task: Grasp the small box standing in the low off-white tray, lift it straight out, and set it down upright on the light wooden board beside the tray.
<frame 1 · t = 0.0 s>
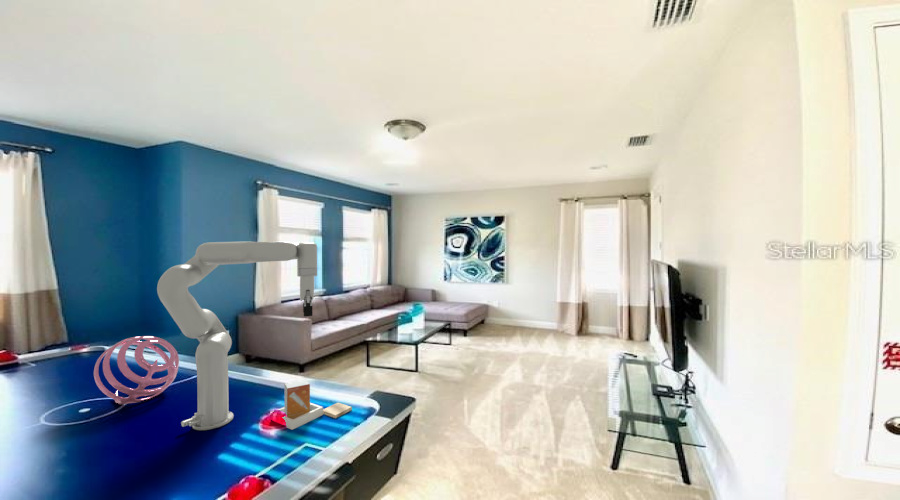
hand: (307, 314, 142), 37 cm above the table, tool pointing down, fingers open, 9 cm apart
spiral basket: (140, 399, 149), on the table
small box: (297, 418, 131), resting in tray
tray: (297, 417, 131), on the table
board: (336, 411, 136), on the table
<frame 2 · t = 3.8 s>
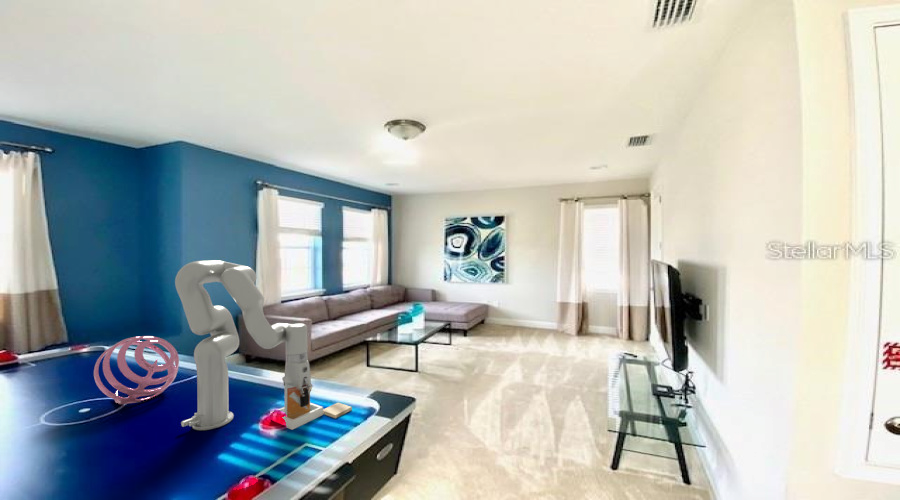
hand: (297, 402, 131), 6 cm above the table, tool pointing down, fingers closed on small box, 8 cm apart
small box: (297, 418, 131), resting in tray, touching gripper
everything else where it was.
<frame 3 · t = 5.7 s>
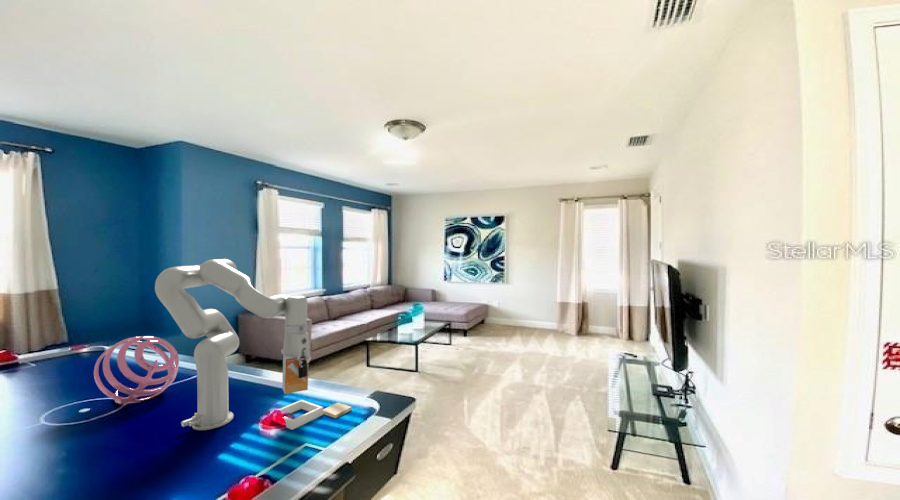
hand: (295, 374, 131), 16 cm above the table, tool pointing down, fingers closed on small box, 8 cm apart
small box: (295, 390, 131), point 10 cm above the table, touching gripper
everything else where it was.
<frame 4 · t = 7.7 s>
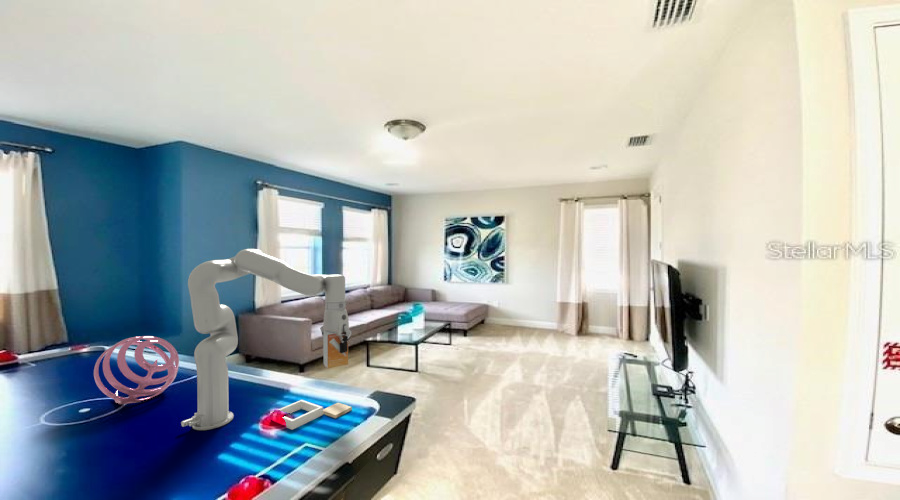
hand: (335, 350, 136), 24 cm above the table, tool pointing down, fingers closed on small box, 8 cm apart
small box: (335, 365, 136), point 18 cm above the table, touching gripper
everything else where it was.
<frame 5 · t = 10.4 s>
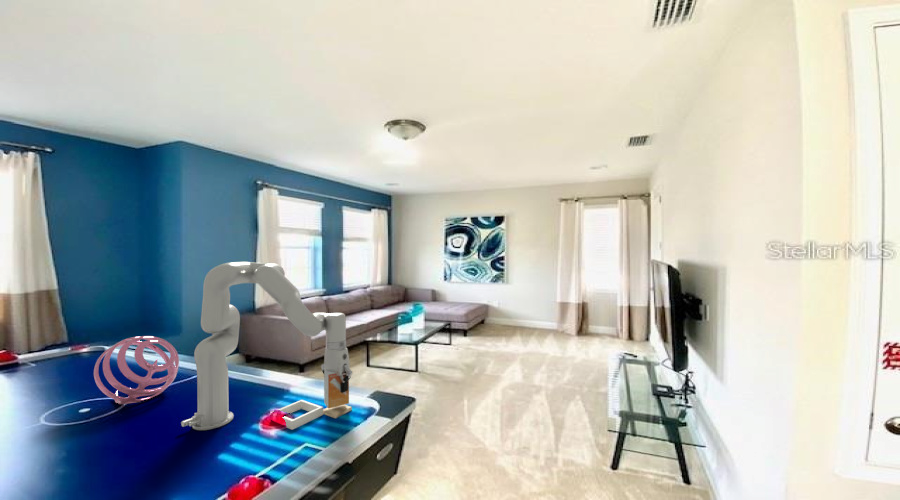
hand: (336, 389, 136), 9 cm above the table, tool pointing down, fingers closed on small box, 8 cm apart
small box: (336, 403, 136), point 3 cm above the table, touching gripper
everything else where it was.
when the fingers open (8 cm above the table, at t = 11.7 s): small box drops 1 cm, resting on board.
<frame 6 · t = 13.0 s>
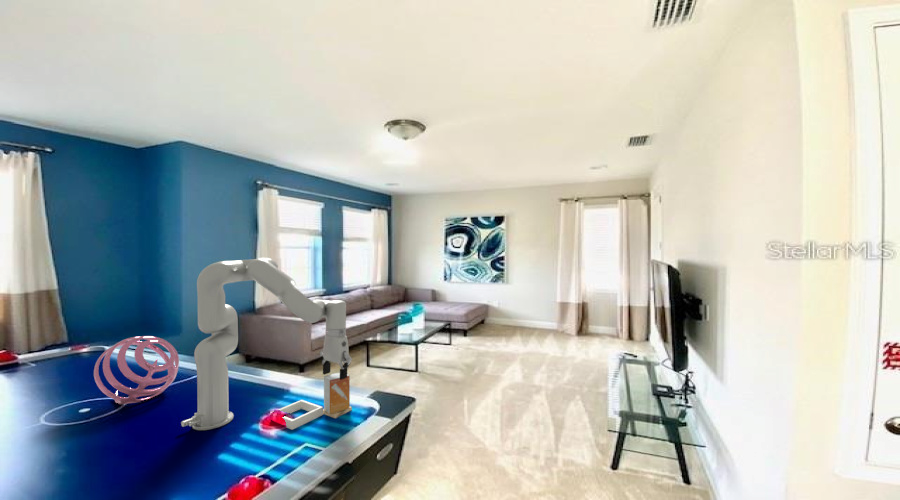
hand: (334, 375, 136), 14 cm above the table, tool pointing down, fingers open, 9 cm apart
small box: (337, 409, 135), point 1 cm above the table, touching board
everything else where it was.
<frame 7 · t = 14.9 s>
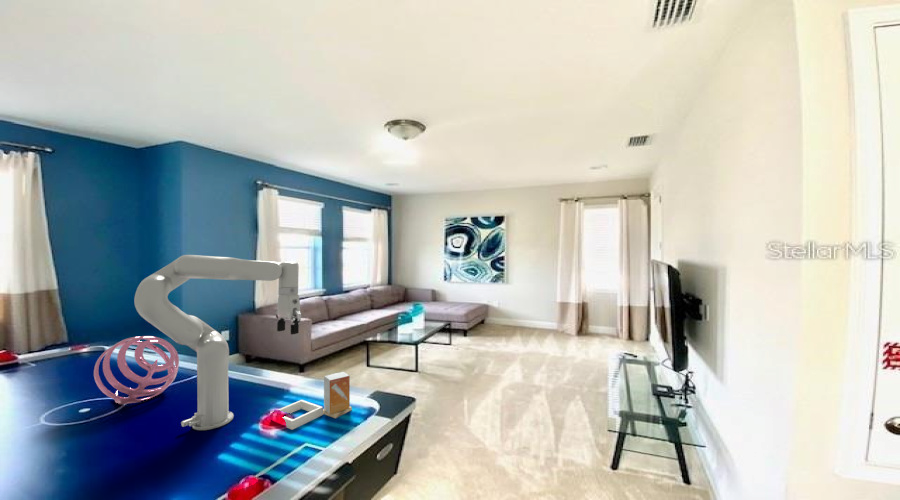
hand: (287, 332, 144), 29 cm above the table, tool pointing down, fingers open, 9 cm apart
nothing on the table moved.
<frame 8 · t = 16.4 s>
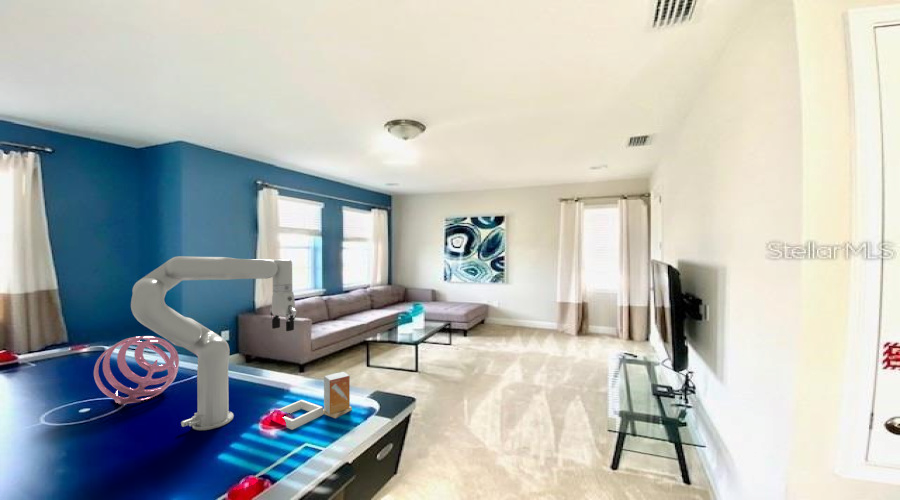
hand: (282, 329, 146), 30 cm above the table, tool pointing down, fingers open, 9 cm apart
nothing on the table moved.
at the end: small box 0.4 cm off-centre on the board, point 1.0 cm above the board's base; small box tilted 0°; the gripper is holding nothing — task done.
